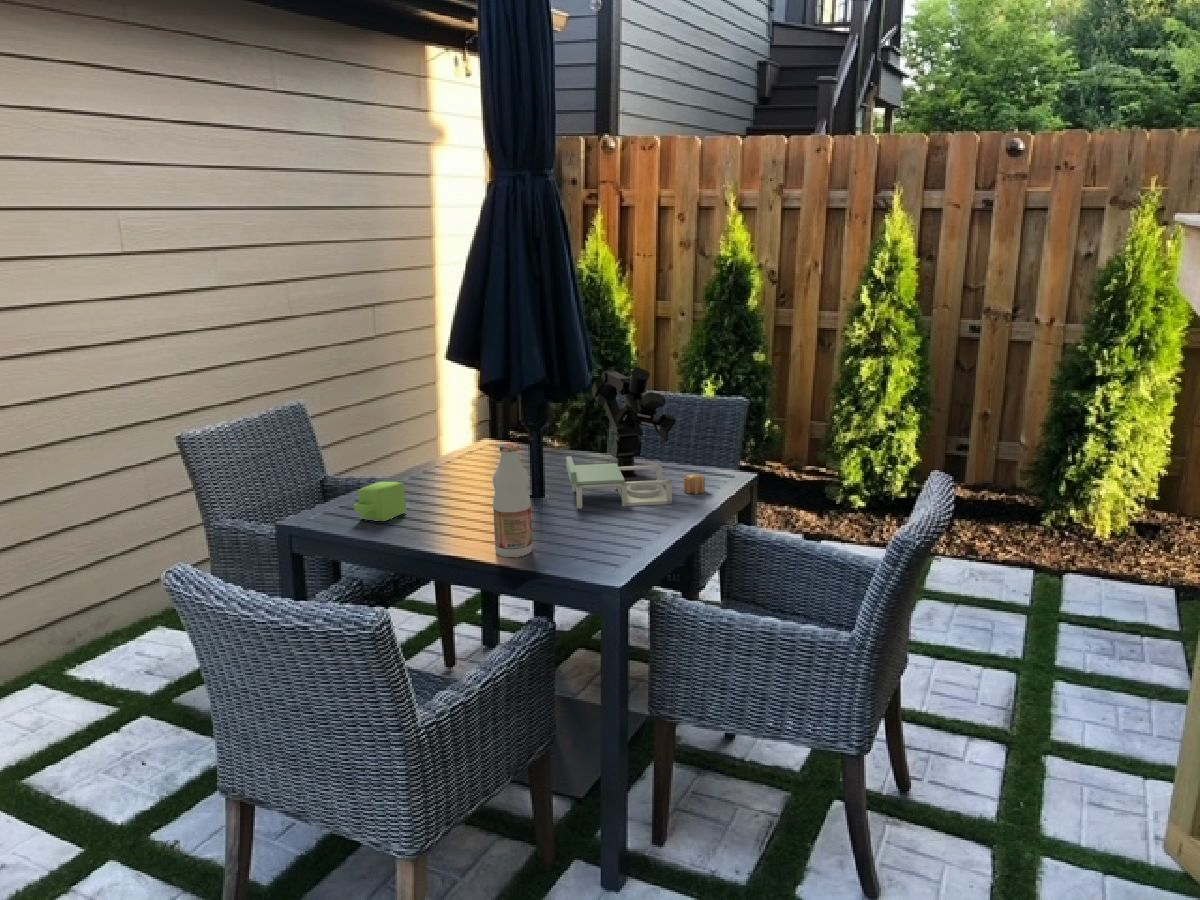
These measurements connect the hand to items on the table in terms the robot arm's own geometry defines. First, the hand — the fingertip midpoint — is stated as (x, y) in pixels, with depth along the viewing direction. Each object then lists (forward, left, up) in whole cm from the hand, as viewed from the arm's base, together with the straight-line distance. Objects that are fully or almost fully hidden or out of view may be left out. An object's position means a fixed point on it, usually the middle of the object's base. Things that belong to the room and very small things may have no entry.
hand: (654, 437), depth 285 cm
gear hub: (-2, +13, -18) cm, 22 cm away
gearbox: (+7, -80, -18) cm, 83 cm away
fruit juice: (+44, -43, -18) cm, 65 cm away
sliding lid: (0, -18, -11) cm, 21 cm away
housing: (0, -10, -18) cm, 21 cm away
